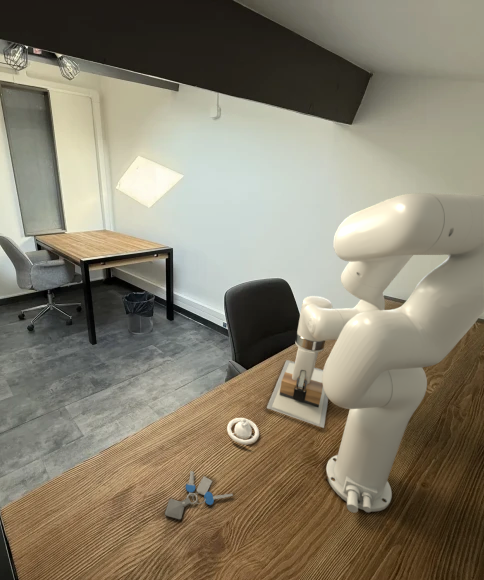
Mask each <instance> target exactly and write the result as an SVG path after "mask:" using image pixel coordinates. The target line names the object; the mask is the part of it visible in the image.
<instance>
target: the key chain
mask: <svg viewBox="0 0 484 580" xmlns="http://www.w3.org/2000/svg"><path fill="white" fill-rule="evenodd" d="M194 480H195V472H194V470H190V471H189V480H188V482H187V483H185V490H186V491H187V493H188V494H187V495H186V498H185V499H183V500H181V501H180V500H177V499H173V498H169V499H168V503H167V505H166V509H165V511H164V516H166V517H168V518H169V517H170V518H173V519H176V520H181V519H182V518H183V514H184V509H185V508H186V507H187V506H190V505H195V504H198V505H199V504H203V503H206V505H208V506H213V504H214V502H215V500H219V499H226V498H230V497H234V495H233V493H225V494H218V495H214V494H213V493H212V492H211V491H209V489H210V487H211V485H212V483H213V480H212V479H210V478H208V477H207V476H204V475H203V477H202V478H201V480H200V482H199V484H198V485H197V488H196V485H195V481H194ZM194 492H195V493H194ZM197 494H200V495H202V496H204V497H203V498H204V499H203V501H202V502H198V501H199V500H198V499H199V497H198V495H197ZM189 497H192V501H193V502H192V501H191V500H190V498H189ZM194 497H195V499H194Z"/></svg>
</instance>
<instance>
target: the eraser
mask: <svg viewBox="0 0 484 580" xmlns="http://www.w3.org/2000/svg"><path fill="white" fill-rule="evenodd" d="M292 375H293V374H290V373H287V372H285V374H284V376H283V379H282V382H281V388H280V395H282V396H285V397H288V398H291V399H293V395H294V389H295V387H296V383H297V379H296V380H293V379H292ZM299 378H300V377H299ZM305 380H306V379H305ZM298 384H299V383H298ZM303 386H305V383H304V384H303ZM322 389H323V383H321V382H317V381H314V380H310V383H309V384H307V386H306V390H307V391H306V396H305V401H304V402H303V403H306V404H309V405H312V406H315V407H319V403H320V399H321V394H322Z"/></svg>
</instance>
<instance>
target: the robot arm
mask: <svg viewBox="0 0 484 580" xmlns="http://www.w3.org/2000/svg"><path fill="white" fill-rule="evenodd" d="M332 243H333V244H332V245H333V250H334V253H335V254H336V256H337V257H338V258H339V259H340V260H342V261H345V262H348V263H347V264H346V266H345V267H344V269H343V271H342V272H341V274H340V282H341V286H343V288H344V289H345V290H346V291H347V292H348V293H349V294H350V295H352V296H354V297H355V298H357V299H359V301H358V302H357V304H356V305H355V306H354V307H349V308H348V307H346V308H333V303H332V301H330V299H327V298H325V297H323V296H319V295H310V296H306V297H304V298H303V300H302V303H301V307H300V308H301V309H300V314H299V320H298V325H297V331H296V337H295V341H294V342H295V345H296V347H297V351H296V355H295V360H294V362H295V365H294V370H293V375H292V379H293V380H296V379H297V383H296V387H295V389H294V395H293V399H294V400H297V401H300V402H304V401H305V396H306V391H307V390H306V386H307V384H309V383H310V380H311V377H312V374H313V371H314V368H316V364H317V360H318V355H319V353H321V352H323V351H324V349H325V346H326V341H335V343H334V345H333V346H332V349H331V351H330V353H329V354H328V356H327V359H326V361H325V363H324V366H323V368H322V370H323V375H322V383H323V388H324V391H325V394H326V396H327V397H328V401H330V402H331V403H332V404H333V405H335V406H337V407H339V408H341V409H347V410H349V411H348V415H347V418H346V421H345V424H344V425H345V426H344V429H343V432H342V433H343V434H342V436H341V440H340V441H341V442H340V445H339V449H338V452H337V454H336V455H333V456H332V457H330V458H329V460H328V461H327V463H326V470H325V471H326V476H327V481H328V483H329V485H330V487H331V489H332V490H333V491H334V492H335V493H336V494H337V495H338V496H339V497H340V498H341V499H342V500H343V501H345V502H346V509H347V511H349V512H350V513H354V514H357V513H358V512H359V510H363V511H364V512H365V513H371V512H381V511H383V510H385V509H387V508H388V507H389V505H390V503H391V501H392V498H393V495H392V494H393V491H392V487H391V485H390V483H389V481H388V479H389V477H390V475H391V471H392V468H393V465H394V462H395V459H396V457H397V453H398V451H399V448H400V446H401V443H402V439H403V438H404V435H405V432H406V429H407V426H408V424H409V422H410V420H411V418H412V417H413V415H414V413H415V412H416V410H417V409H418V407H419V406H420V405H421V403H422V401H423V399H424V397H425V396H426V392H427V389H428V379H427V375H426V372H425V370H424V368H428V367H432V366H435V365H437V364H439V363H441V362H442V361H443V360H444V359H445V358H446V357H448V355H449V354H450V352H452V350H453V349H454V348H455V347H456V345H457V344H458V343H459V342H460V341H461V340H462V339H463V338H464V336H465V335H466V334H467V333H468V332H469V330H470V329H472V327H473V326H474V325H475V323H476V322H477V321H478V319H480V317H481V315H482V314H483V313H484V194H476V193H475V194H474V193H436V192H435V193H434V192H411V193H410V192H409V193H404V194H399V195H396V196H393V197H390V198H387V199H384V200H382V201H380V202H378V203H375V204H373V205H371V206H368V207H366V208H363V209H360V210H357V211H356V212H354V213H352V214H350V215H348V216H347V217H346V218H344V219H343V221H341V223H340V224H339V226H338V227H337V229H336V231H335V233H334V236H333V242H332ZM446 255H447V256H448V257H447V258H446V259H445V260H444V261H443V262H442V263H440V264H439V265H437V266H436V267H434V269H432V270H431V271H429V272H428V273H427V274H426V275H425V276H423V278H421V279H420V281H419V282H418V283H417V284H416V285H415V287H414V289H413V290H412V292H411V294H410V295H409V297H408V298H407V300H406V301H405V302H404V303H403V304H401V306H399V307H396V308H392V309H385V307H386V300H385V296H384V292H385V290H386V289H387V288H388V287H389V286H390V284H391V283H392V282H393V280H394V279H395V278H396V277H397V276H398V274H399V273H400V272H401V271H402V270H403V268H405V266H406V264H407V263H408V262H409V261H410V260H411V259H412V258H413V256H446ZM299 377H300V378H299ZM305 379H306V380H305ZM298 383H299V384H298ZM304 383H305V386H303V384H304ZM325 394H324V395H325Z"/></svg>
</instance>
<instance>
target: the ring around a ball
mask: <svg viewBox="0 0 484 580" xmlns="http://www.w3.org/2000/svg"><path fill="white" fill-rule="evenodd" d="M234 425H235V426H234ZM233 426H234V432H233V431H232V427H233ZM252 429H253V430H254V434H252V433H253V430H252ZM226 432H227V434H228V436H229V438H230V439H231V440H232V441H234V442H235V443H238V444H239V445H244V446H245V445H246V446H247V445H248V446H249V445H252V444H254V443H256V442H257V441H258V439H259V437H260V430H259V427H258V426H257V425H256V423H255V422H254V421H252V420H250V419H249V418H245V417H235V418H233V419H231V420H230V421H229V422H228V424H227V427H226Z"/></svg>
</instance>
